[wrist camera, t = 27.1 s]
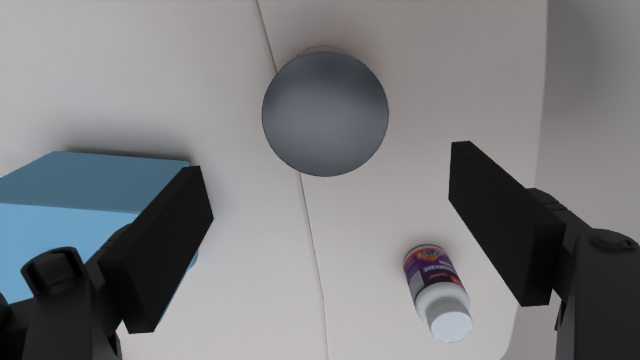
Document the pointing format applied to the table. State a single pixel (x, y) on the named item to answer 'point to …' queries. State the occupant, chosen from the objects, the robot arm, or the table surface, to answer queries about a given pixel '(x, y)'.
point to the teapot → (72, 207)
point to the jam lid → (325, 113)
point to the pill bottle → (438, 293)
